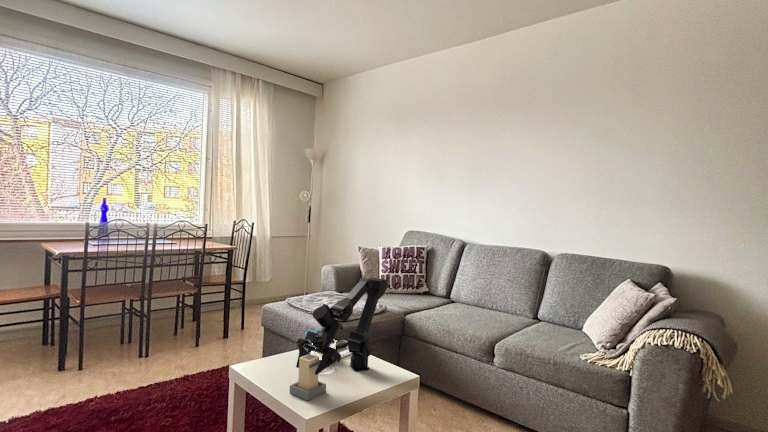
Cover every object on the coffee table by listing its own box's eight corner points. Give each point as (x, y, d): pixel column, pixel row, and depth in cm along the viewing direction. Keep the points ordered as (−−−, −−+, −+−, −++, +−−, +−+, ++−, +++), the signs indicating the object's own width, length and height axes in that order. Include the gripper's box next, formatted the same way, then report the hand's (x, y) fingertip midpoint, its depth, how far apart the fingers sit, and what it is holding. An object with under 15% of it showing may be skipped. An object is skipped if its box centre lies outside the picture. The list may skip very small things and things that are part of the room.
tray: (307, 384, 162) (308, 377, 162) (325, 392, 157) (326, 384, 157) (289, 393, 154) (289, 385, 154) (308, 401, 149) (308, 392, 149)
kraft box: (307, 386, 159) (309, 353, 159) (317, 390, 156) (319, 357, 156) (297, 391, 155) (299, 357, 154) (307, 395, 152) (309, 361, 152)
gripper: (300, 317, 163) (276, 353, 154) (337, 327, 153) (314, 367, 144) (313, 332, 170) (292, 368, 161) (350, 343, 159) (329, 382, 151)
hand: (306, 370), depth 154 cm, fingers open, 9 cm apart
